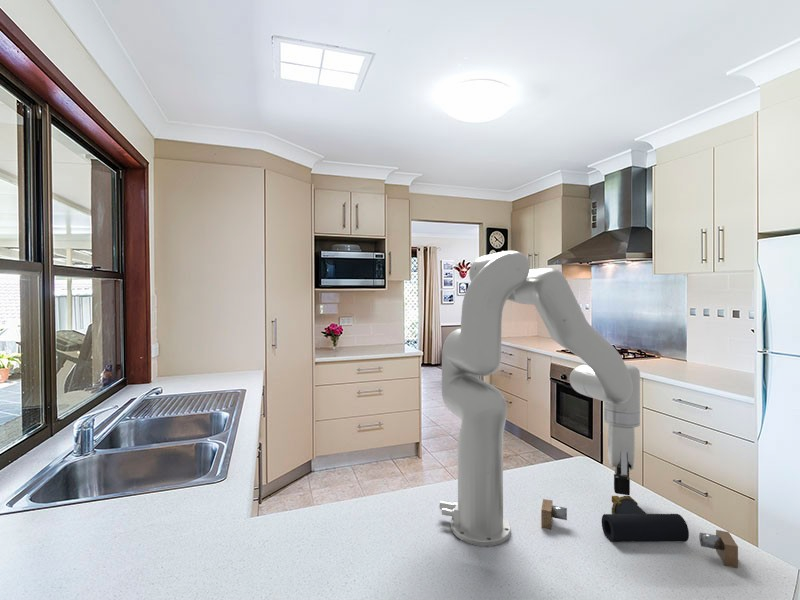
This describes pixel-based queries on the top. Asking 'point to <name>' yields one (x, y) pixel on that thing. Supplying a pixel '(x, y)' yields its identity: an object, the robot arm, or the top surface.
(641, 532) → the pipe connector
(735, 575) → the top surface
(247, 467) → the top surface
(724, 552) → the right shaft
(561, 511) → the left shaft
